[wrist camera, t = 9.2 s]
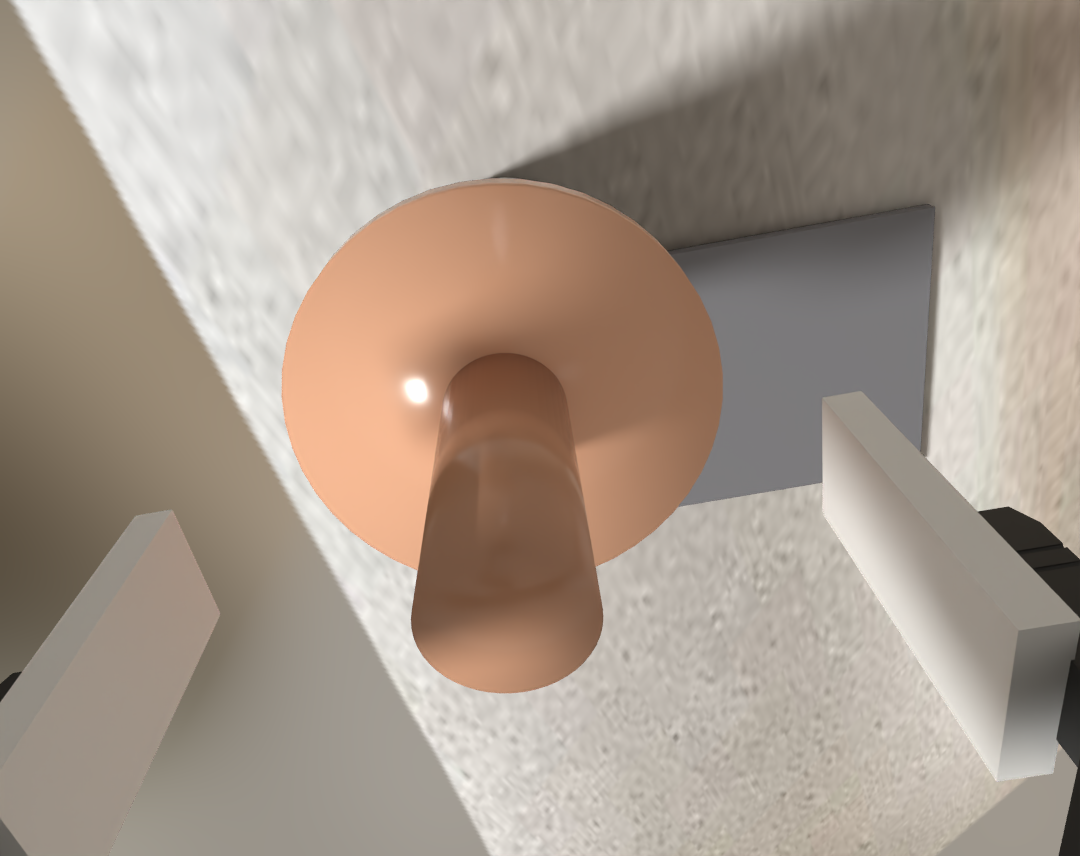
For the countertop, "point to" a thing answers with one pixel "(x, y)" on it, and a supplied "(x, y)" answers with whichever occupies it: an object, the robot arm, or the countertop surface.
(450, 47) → the countertop surface
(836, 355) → the mat
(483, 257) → the lid
